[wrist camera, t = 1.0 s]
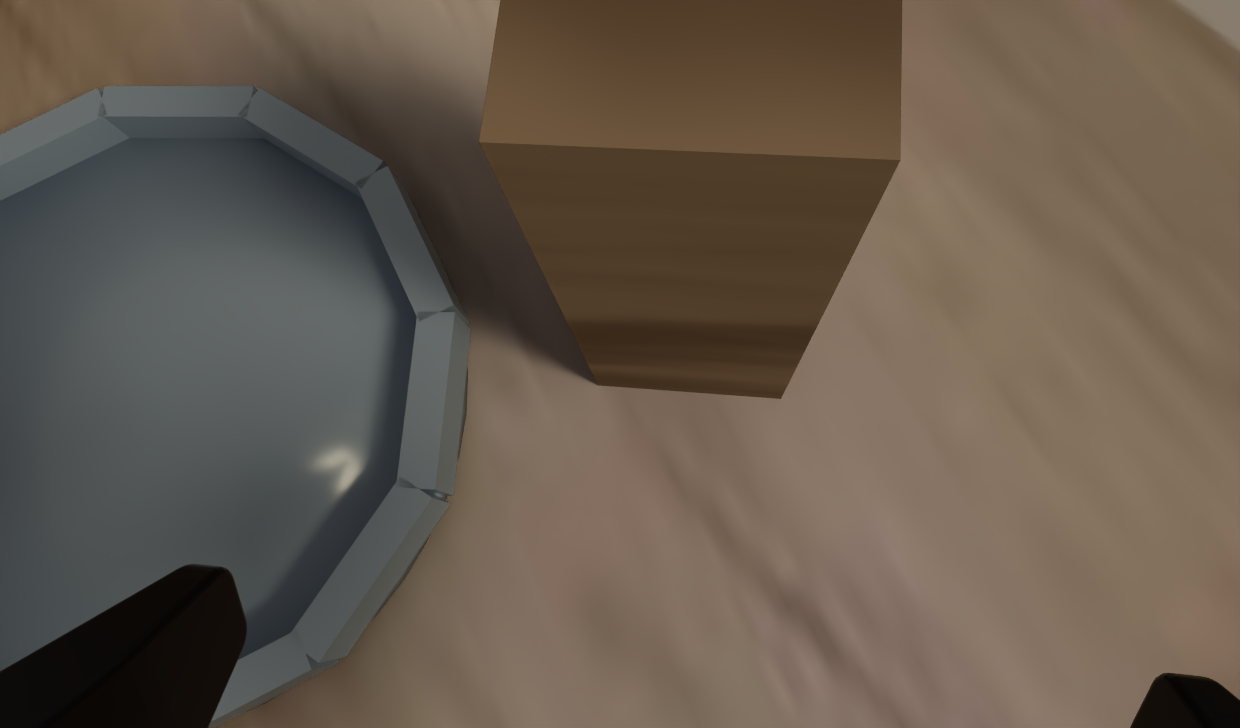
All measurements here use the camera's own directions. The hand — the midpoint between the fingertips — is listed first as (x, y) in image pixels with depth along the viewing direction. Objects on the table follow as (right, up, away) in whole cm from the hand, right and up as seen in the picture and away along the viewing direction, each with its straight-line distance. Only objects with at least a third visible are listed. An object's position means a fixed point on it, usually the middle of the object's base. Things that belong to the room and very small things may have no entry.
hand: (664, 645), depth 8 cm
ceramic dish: (-14, +2, +15) cm, 21 cm away
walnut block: (+2, +4, +15) cm, 16 cm away
